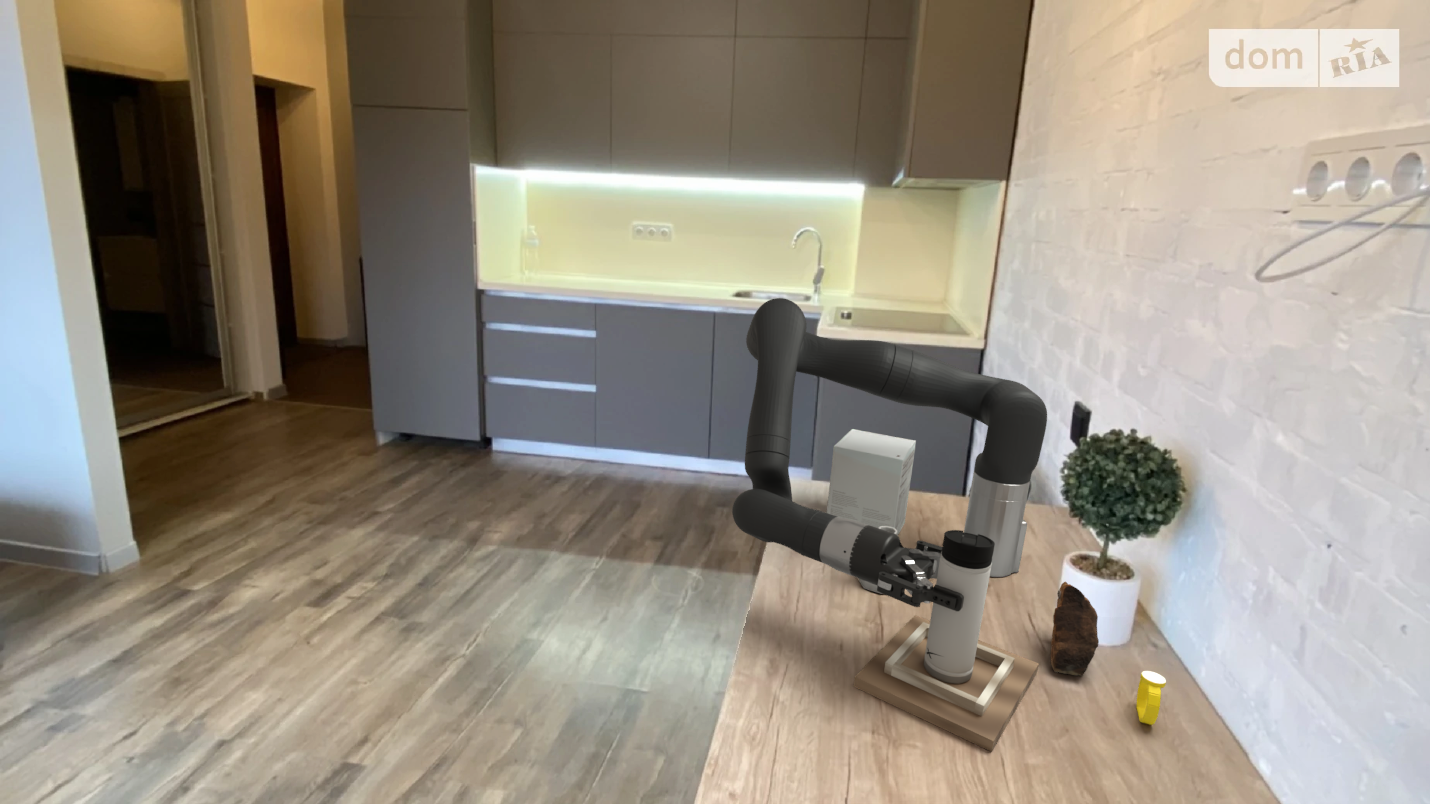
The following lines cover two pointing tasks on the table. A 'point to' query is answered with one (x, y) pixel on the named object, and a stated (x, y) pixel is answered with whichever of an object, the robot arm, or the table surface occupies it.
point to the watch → (1149, 696)
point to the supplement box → (871, 478)
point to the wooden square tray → (949, 686)
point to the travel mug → (959, 630)
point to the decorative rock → (1073, 632)
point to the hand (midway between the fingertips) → (973, 590)
